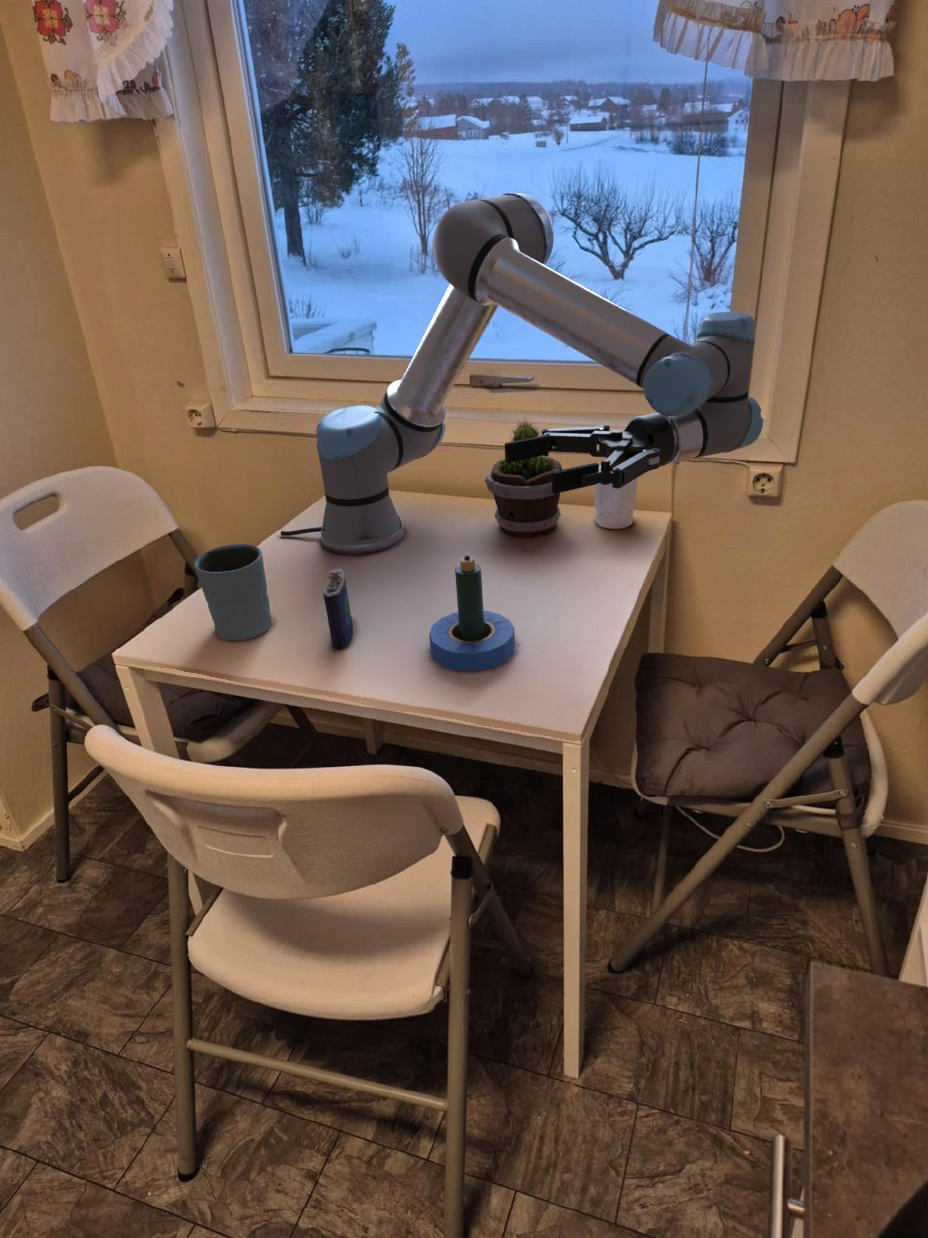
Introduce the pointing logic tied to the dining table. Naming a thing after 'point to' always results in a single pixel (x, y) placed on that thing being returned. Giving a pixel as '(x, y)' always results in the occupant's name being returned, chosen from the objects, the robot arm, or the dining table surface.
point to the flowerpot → (525, 490)
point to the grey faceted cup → (615, 505)
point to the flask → (338, 610)
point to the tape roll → (472, 643)
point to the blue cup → (235, 590)
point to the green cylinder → (470, 599)
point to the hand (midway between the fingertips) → (528, 467)
